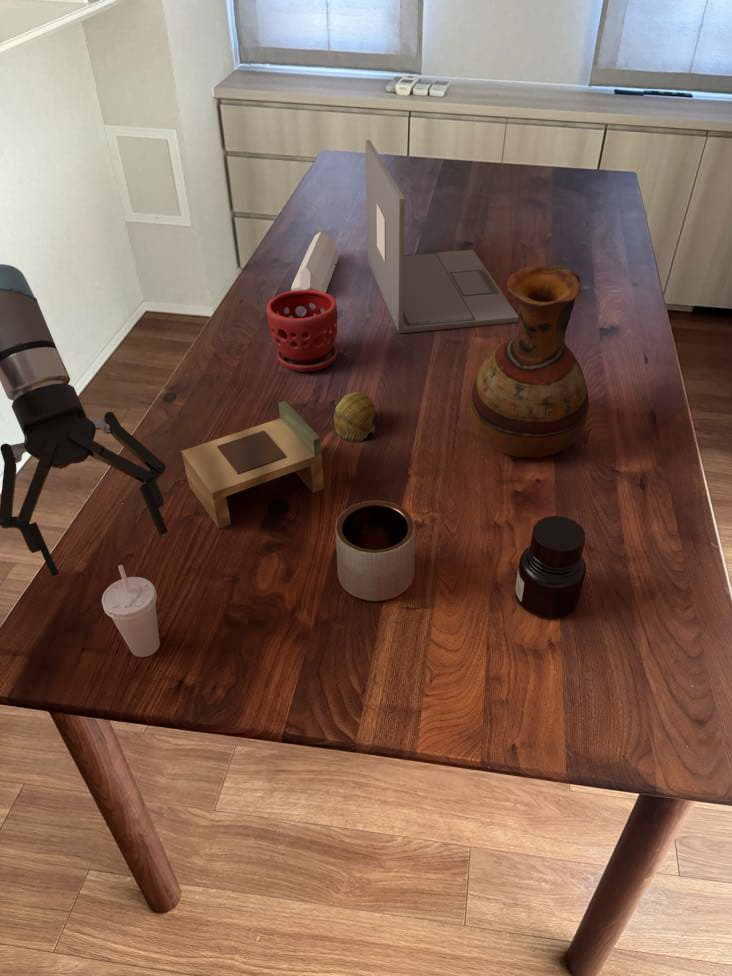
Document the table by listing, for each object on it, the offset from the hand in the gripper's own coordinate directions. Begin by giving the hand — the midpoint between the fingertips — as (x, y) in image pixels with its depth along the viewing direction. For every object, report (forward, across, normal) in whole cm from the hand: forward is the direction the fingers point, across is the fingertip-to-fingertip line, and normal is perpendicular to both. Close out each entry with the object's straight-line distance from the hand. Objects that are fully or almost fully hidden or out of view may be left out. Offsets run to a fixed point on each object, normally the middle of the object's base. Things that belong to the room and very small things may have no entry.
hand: (111, 553), depth 98 cm
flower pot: (-24, -51, -42) cm, 71 cm away
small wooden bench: (-3, -26, -20) cm, 33 cm away
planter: (+16, -32, -1) cm, 36 cm away
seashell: (-7, -48, -24) cm, 54 cm away
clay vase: (+5, -72, -12) cm, 73 cm away
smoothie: (+12, 0, -5) cm, 13 cm away
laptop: (-32, -90, -50) cm, 108 cm away
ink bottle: (+28, -50, +10) cm, 58 cm away
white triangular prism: (-46, -70, -64) cm, 105 cm away
